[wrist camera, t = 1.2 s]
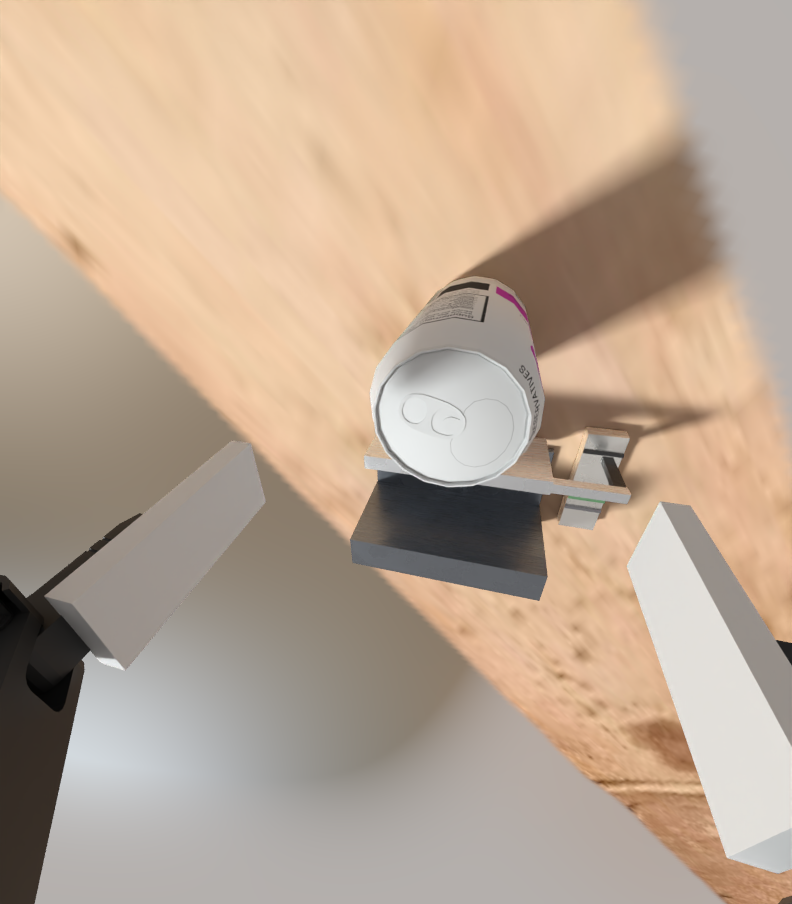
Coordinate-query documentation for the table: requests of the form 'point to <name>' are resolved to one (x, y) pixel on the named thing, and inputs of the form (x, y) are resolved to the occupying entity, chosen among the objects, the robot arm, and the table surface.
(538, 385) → the supplement can
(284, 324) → the table surface
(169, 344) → the table surface
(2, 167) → the table surface
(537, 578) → the gauge housing
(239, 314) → the table surface
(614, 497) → the gauge plunger
